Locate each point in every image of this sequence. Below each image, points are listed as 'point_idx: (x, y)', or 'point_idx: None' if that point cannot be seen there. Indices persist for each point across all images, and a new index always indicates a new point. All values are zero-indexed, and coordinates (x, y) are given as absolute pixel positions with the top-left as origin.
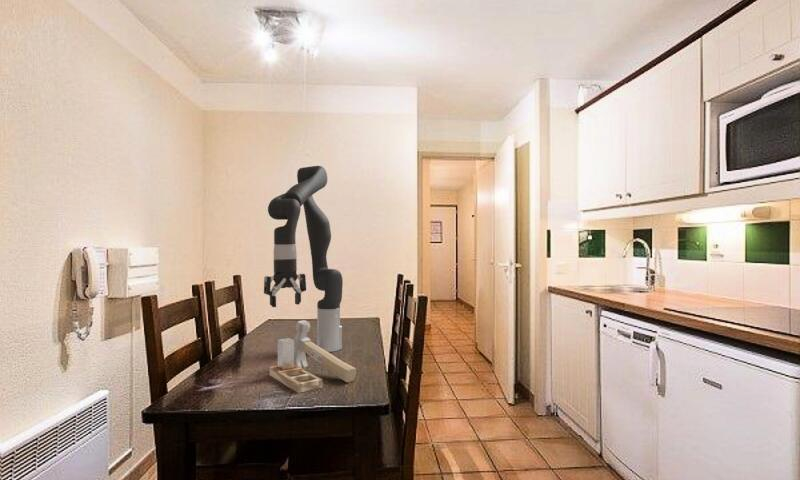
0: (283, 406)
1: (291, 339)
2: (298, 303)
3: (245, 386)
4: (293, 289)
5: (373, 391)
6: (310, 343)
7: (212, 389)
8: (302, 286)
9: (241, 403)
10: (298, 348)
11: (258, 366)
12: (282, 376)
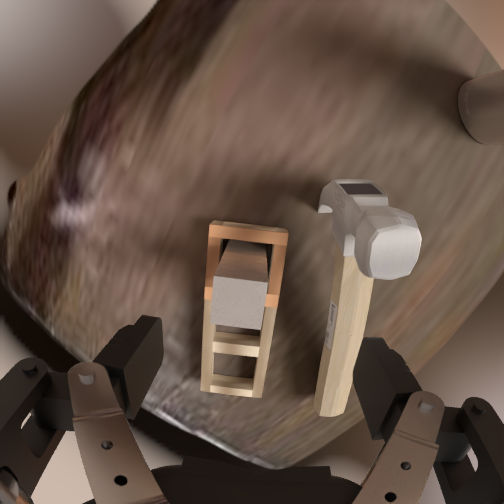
0: (154, 405)
1: (259, 313)
2: (357, 382)
3: (128, 265)
4: (397, 424)
5: (314, 440)
6: (360, 275)
7: (70, 233)
8: (444, 478)
9: (98, 349)
10: (334, 221)
11: (235, 105)
12: (204, 315)
